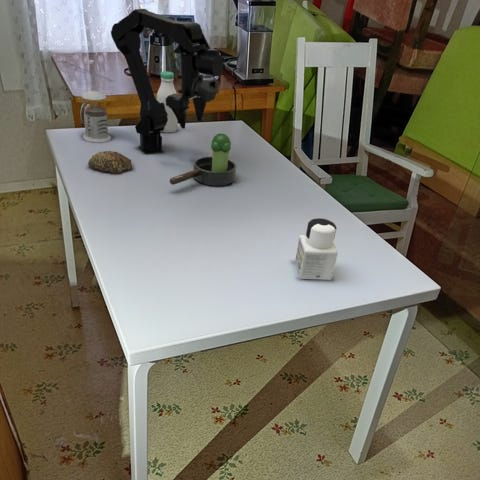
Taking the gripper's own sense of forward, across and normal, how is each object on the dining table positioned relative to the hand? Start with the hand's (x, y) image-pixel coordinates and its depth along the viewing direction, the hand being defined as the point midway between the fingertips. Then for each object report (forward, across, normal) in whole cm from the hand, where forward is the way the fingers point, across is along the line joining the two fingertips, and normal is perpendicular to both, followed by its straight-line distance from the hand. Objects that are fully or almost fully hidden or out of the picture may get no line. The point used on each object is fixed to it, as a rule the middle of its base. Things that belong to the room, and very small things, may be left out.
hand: (191, 124), depth 165 cm
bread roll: (+11, -19, +18) cm, 28 cm away
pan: (+13, -5, -12) cm, 18 cm away
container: (+16, -37, -59) cm, 71 cm away
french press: (+10, -4, +38) cm, 40 cm away
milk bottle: (+12, +22, +26) cm, 36 cm away
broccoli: (+13, -6, -14) cm, 19 cm away
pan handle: (+10, -18, -10) cm, 22 cm away
